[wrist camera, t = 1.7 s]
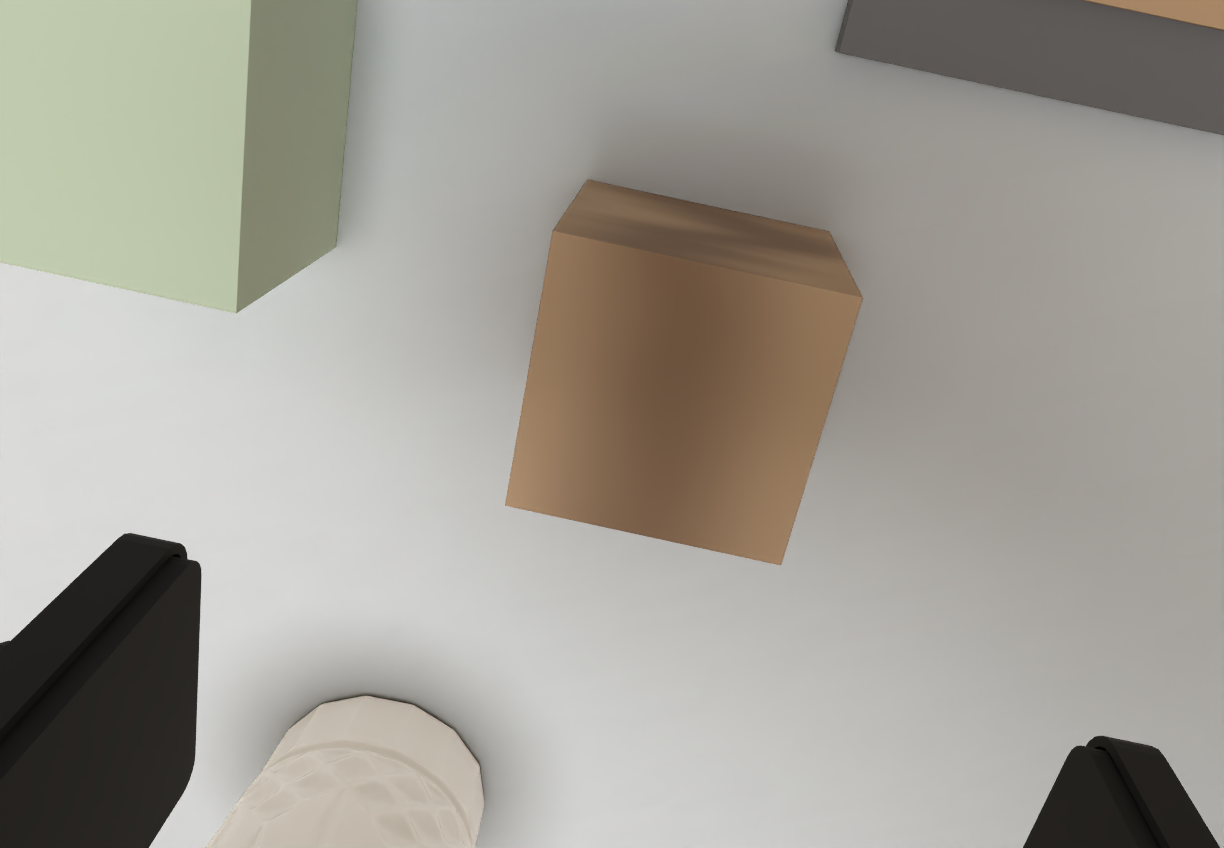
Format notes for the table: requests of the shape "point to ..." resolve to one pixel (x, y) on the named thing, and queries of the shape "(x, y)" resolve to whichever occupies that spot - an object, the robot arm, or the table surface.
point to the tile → (1060, 50)
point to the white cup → (361, 784)
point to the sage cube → (173, 141)
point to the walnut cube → (681, 371)
